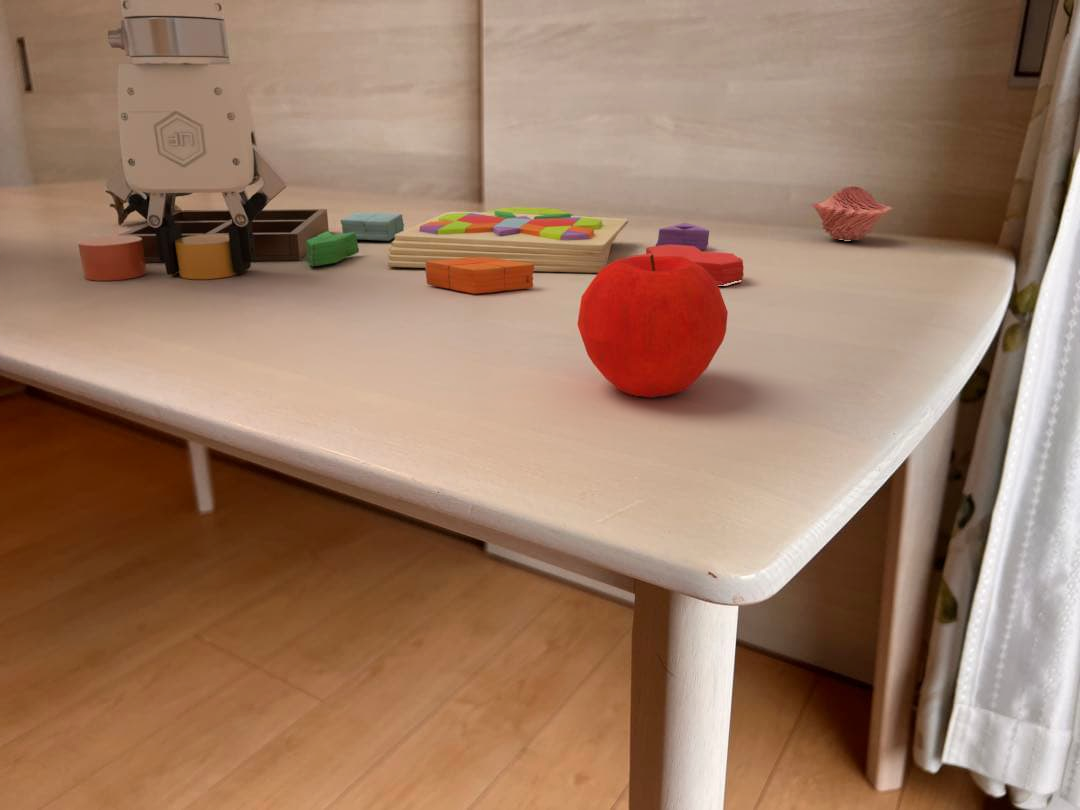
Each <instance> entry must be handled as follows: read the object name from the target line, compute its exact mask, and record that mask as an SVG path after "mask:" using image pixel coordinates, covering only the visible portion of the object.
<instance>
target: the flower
mask: <svg viewBox="0 0 1080 810" xmlns="http://www.w3.org/2000/svg"><path fill="white" fill-rule="evenodd" d="M875 199H876V198H875V197H873V194H872V193H869V191H868V190H866V189H864V188H863V187H860V186H848V187H847V186H846V187H844V188H841V189H840V190H837V191H836V192H834V194H833V195H832V196H831V197H829V198H828V199H826V200H824V201H822V202H819V201H817V202H815V203H810V205H811V207H812V208H814V209H815V212H817V214H818V216H819V218H820V219H821V220H822V223H821V225H822V229H823V230H825V233H826V234H829V237H832V239H833V240H839V239H843V240H857V241H859V240H860V239H864V238H865V237H866V235H869V234H871V232H872V228H873V227H875V226H876V225H877V223H878V222H879V220H880V219H881V218H882V217H883V216H884V215H885V214H886V213H888V212H890V211H891V210H893V209H894V208H893V207H892V206H891V205H885V204H880V202H877V201H876V200H875Z"/></svg>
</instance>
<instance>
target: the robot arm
mask: <svg viewBox="0 0 1080 810" xmlns="http://www.w3.org/2000/svg"><path fill="white" fill-rule="evenodd" d="M119 2H120V7H121V14H122V19H121V20H120V27H118V28H117V29H109V30H108V31H107V42H108V44H109V46H110V47H111V48H112V49H121V50H124V52H125V56H126V57H128V59H129V63H119V64H118V73H117V109H118V110H117V111H118V129H119V130H118V131H119V142H120V152H121V158H120V159H119V161H118V163H117V164H116V166H115V167H114V169H113V171H112V172H111V173H110V175H109V177H108V179H106V182H105V187H106V189H107V191H111V192H112V193H114V194H115V195H116V196H118V197H119V198H121V199H122V200H124V201H126V203H127V204H128V205H130V206H131V207H132V208H133V209H134V210H136V211H135V212H136V213H138V214H139V215H140V216H141V217H143V218H144V219H145V220H146V221H147V222H146V223H148V224H149V225H150V226H151V227H154V228H155V234H156V241H157V247H158V253H159V259H160V262H159V263H161V264H164V266H165V272H166V274H167V275H176V274H178V273H179V268H178V261H177V255H176V248H175V240H177V239H180V238H182V232H181V226H180V224H178V222H175V220H174V217H173V212H174V205H176V198H177V197H176V193H192V194H208V193H209V194H210V193H212V194H213V193H216V194H217V193H220V194H221V195H222V198H223V199H224V202H225V204H226V207H227V210H229V211H230V214H231V216H232V227H230V228H229V229H228V232H229V240H230V248H231V256H232V263H233V270H234V272H236V273H238V274H244V273H246V272H247V271H248V270H249V269H251V266H252V263H254V262H255V261H254V260H255V248H254V240H253V232H252V223H251V222H252V221H254V219H255V218H256V216H257V215H258V214H259V213H260V212H261V211H262V210H264V209H265V207H266V206H267V205H268V204H269V203H270V202H271V201H273V199H274V198H276V197H277V196H278V195H279V194H280V193H281V192H282V191H283V190H284V189H286V188H287V187H288V180H287V179H286V177H285V176H284V175H283V174H282V173H281V172H280V171H279V170H278V168H277V167H275V165H274V164H273V163H272V162H271V161H270V160H269V159H268V158H267V156H265V154H264V153H263V152H262V151H261V150H260V149H259V143H258V139H257V133H256V128H255V122H254V117H253V114H252V110H251V105H250V100H249V97H248V92H247V88H246V85H245V82H244V79H243V76H242V73H241V69H240V66H239V64H232V63H231V58H230V51H229V42H228V41H229V40H228V33H227V26H226V17H225V9H224V1H223V0H119ZM260 179H262V181H263V185H262V186H261V187H260V188H259V189H258V190H257V191H256V192H254V193H253V194H252V195H251V196H250V197H249V194H248V192H247V190H246V188H247V187H248V186H253V185H254V184H256V183H257V182H258V181H260ZM144 192H146V193H151V194H150V196H149V195H147V194H146V193H144Z"/></svg>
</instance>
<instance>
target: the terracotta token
mask: <svg viewBox="0 0 1080 810" xmlns="http://www.w3.org/2000/svg"><path fill="white" fill-rule="evenodd" d="M119 235H120V234H119ZM77 246H78V250H79V251H78V252H79V256H80V261H81V265H82V266H81V267H82V272H83V277H84V278H85V279H86V280H89V281H95V282H96V281H97V282H112V281H122V280H123V281H124V280H129V279H136V278H139V277H142V276H145V275H147V274H148V265H147V262H146V259H145V253H144V247H143V240H142V238H141V237H138V236H126V235H120V236H117V235H104V236H96V237H90V238H85V239H82V240H80V241H78V242H77Z"/></svg>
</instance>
